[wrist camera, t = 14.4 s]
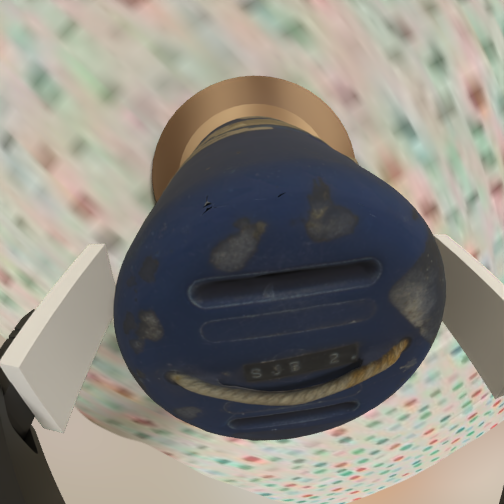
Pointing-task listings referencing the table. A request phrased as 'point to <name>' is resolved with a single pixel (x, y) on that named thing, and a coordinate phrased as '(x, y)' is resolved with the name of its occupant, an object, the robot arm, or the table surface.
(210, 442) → the table surface
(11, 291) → the table surface
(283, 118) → the brown plate
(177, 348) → the canister
